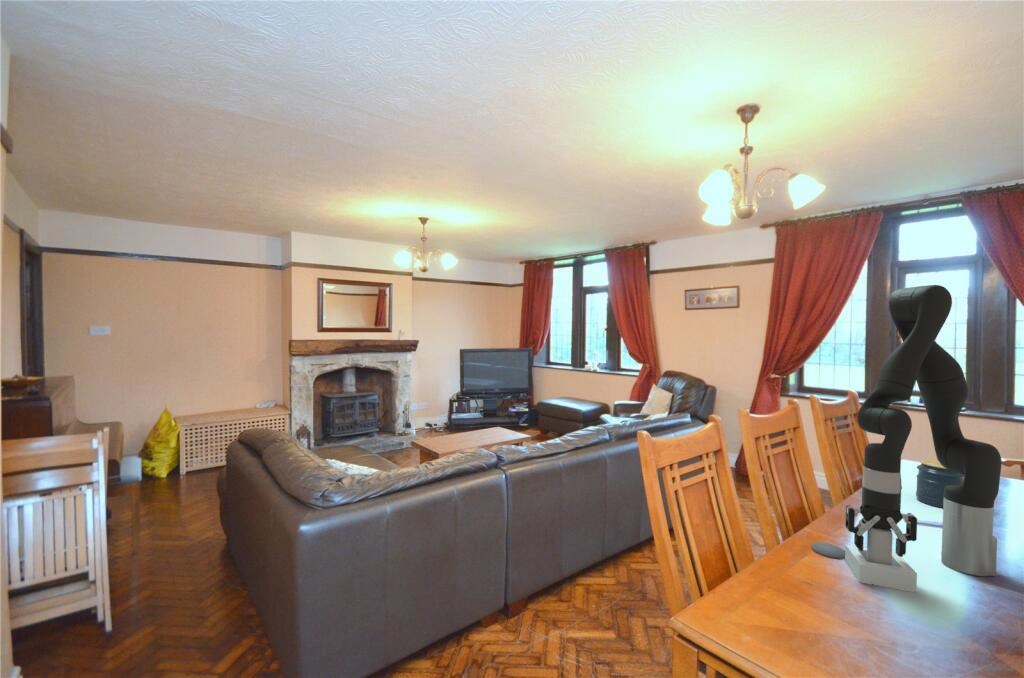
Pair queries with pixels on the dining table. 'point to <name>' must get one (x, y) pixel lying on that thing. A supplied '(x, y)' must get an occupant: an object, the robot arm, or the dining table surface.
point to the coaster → (828, 550)
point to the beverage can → (879, 546)
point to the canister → (935, 481)
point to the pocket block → (881, 570)
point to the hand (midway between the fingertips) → (879, 552)
